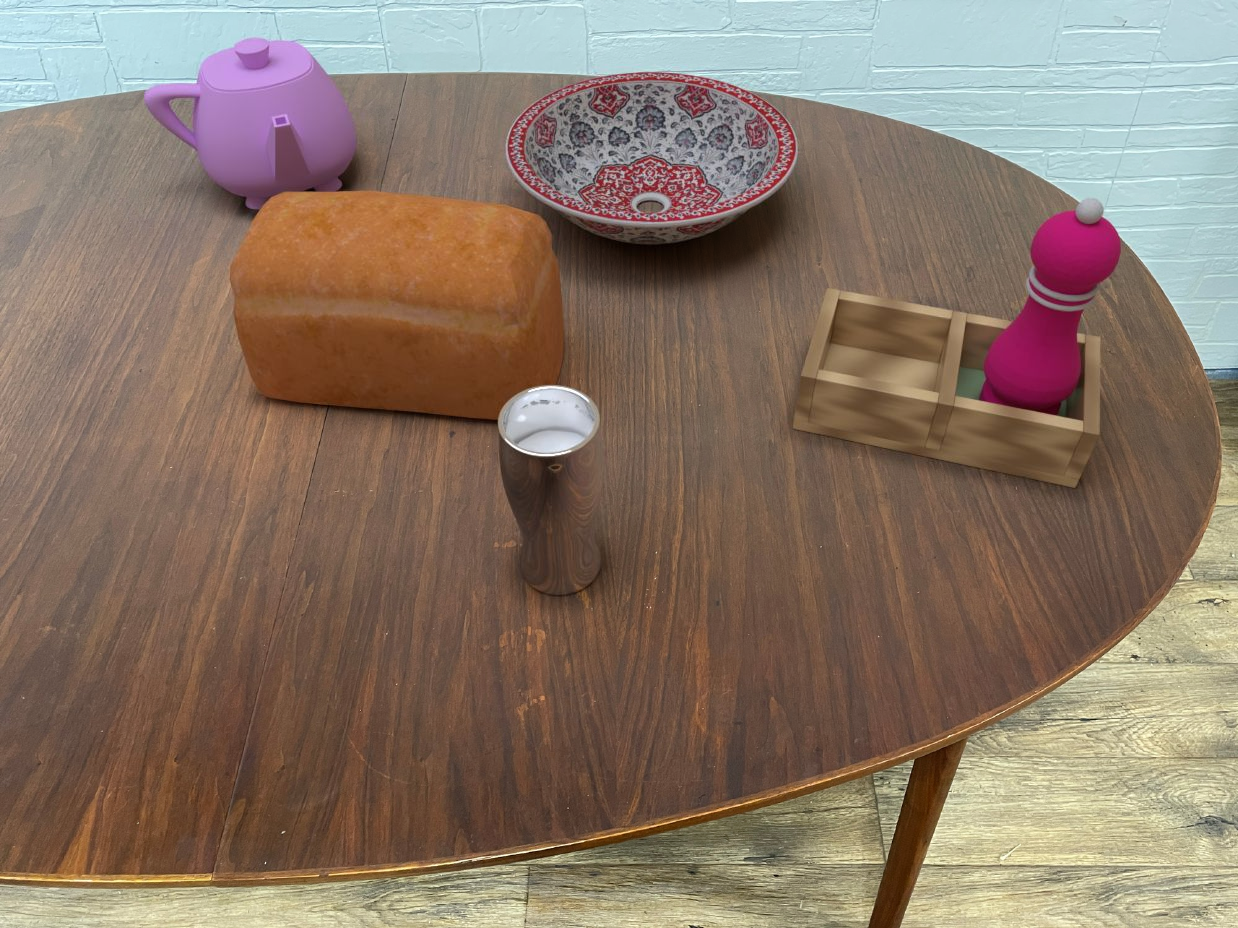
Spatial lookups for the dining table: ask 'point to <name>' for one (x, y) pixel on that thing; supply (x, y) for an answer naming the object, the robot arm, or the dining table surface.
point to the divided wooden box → (937, 390)
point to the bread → (398, 302)
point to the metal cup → (554, 484)
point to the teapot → (263, 120)
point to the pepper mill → (1052, 312)
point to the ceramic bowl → (651, 154)
